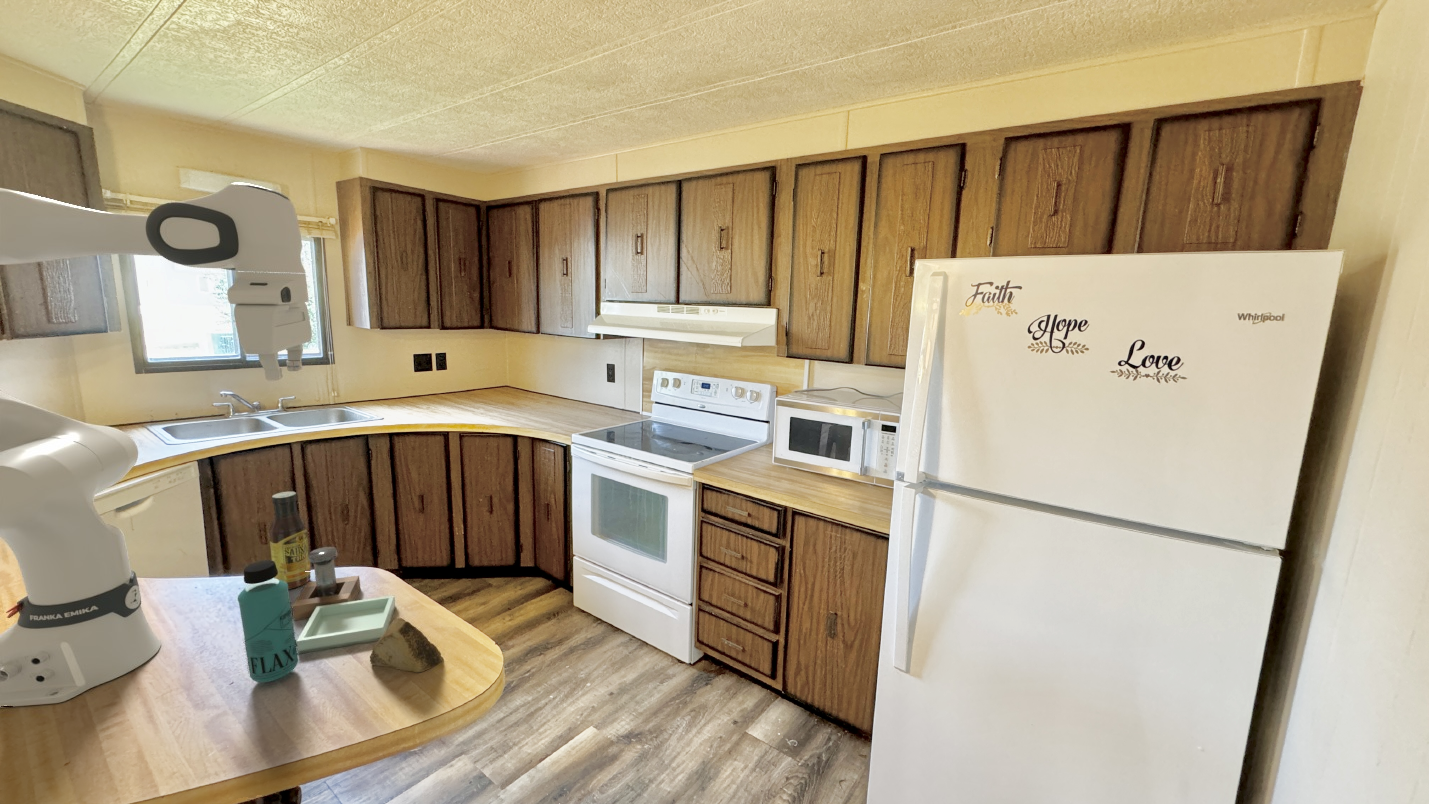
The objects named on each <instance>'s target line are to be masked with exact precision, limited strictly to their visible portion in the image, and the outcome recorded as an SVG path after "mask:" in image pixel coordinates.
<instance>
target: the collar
mask: <svg viewBox="0 0 1429 804" xmlns="http://www.w3.org/2000/svg"><path fill="white" fill-rule="evenodd" d="M360 580H361V579H360V575H353V576H344V577H338V578H337V577H336V584H337V592H338V595H332V596H325V597H318V593H317V585H316V580H315V581H308V582H307V583H305V586H303V587H304V588H303V589H302V590H301V591H300V594H299V595H298V597H297V598H296V600H295V601H294V603H293V604H292V605H291V607H292V608H291V610H292V611H293V612H292V613H293V615H292V617H293V621H299V620H306V619H308V620H309V619H310V617H311V616H312V614H313V612H314V610H315V609H316V607H317V606H324V605H331V604H337V603H344V602H351V601H356V599H357V596H358V595H359V593H360V591H361V581H360Z"/></svg>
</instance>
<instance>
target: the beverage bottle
mask: <svg viewBox="0 0 1429 804" xmlns="http://www.w3.org/2000/svg"><path fill="white" fill-rule="evenodd" d="M277 574H278V570H277V568H276V564H275V562H274V561H272V559H270V560H269V559H267V560H260V561H256V562H252V563H250V564H248V565H246V566H245V567H244V568H243V581H244V583H245V584H247V586H246V587H245V588H244V589H243V590H241V592H240V593H239V594H238V595H237V601H238V605H239V612H240V618H241V623H242V624H241V625H242V631H243V636H244V640H243V644H244V646H243V647H244V651H245V653H244V655H245V660H246V661H247V662H246V664H247V667H246V668H247V671H248V672H247V674H249V675H248V677H249V678H251V680H252V681H253V682H257V683H266V682H272V681H275V680H276V681H277V680H278V679H281V678H283V677H285V676H286V675H288V674H290V673H291V672H293V671H294V670H295V668H296V667H297V666H298V662H299V657H300V656H299V654H298V647H297V640H298V639H297V635H296V633H297V632H296V631H295V629H294V616H293V609H292V605H291V604H292V602H291V601H290V594H289V589H288V584H287V583H286V582H284V581H282V580H279V579H275V578H274V577H276V576H277Z"/></svg>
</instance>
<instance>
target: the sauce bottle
mask: <svg viewBox="0 0 1429 804" xmlns="http://www.w3.org/2000/svg"><path fill="white" fill-rule="evenodd" d="M297 499H298V496H297V492H295V491H282V492H278V493H275V494H273V495H272V496H271V502H272V504H273V510H274V514H273V515H274V518H273V520H272V521H271V523H270V526H269V531H268V532H269V533H268V534H269V547H270V548H269V549H270V557H271V561H274V562H275V564H276V568H277V570H278V574H277V576H276V577H274V578H275V579H279V580H282V581H284V582H286V583H287V584H288V590H291V589H296V588H299V587H301V586H304V585H306V584H307V583H308V582H310V580H311V572H312V571H311V563H310V562H309V559H308V554H309V553H310V552H309V551H310V550H309V543H308V542H309V541H308V539H309V538H308V532H307V528H306V524H304V521H303V519H302V518H301V516H300V514H299V511H298V505H297ZM305 571H311V572H305Z"/></svg>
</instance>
